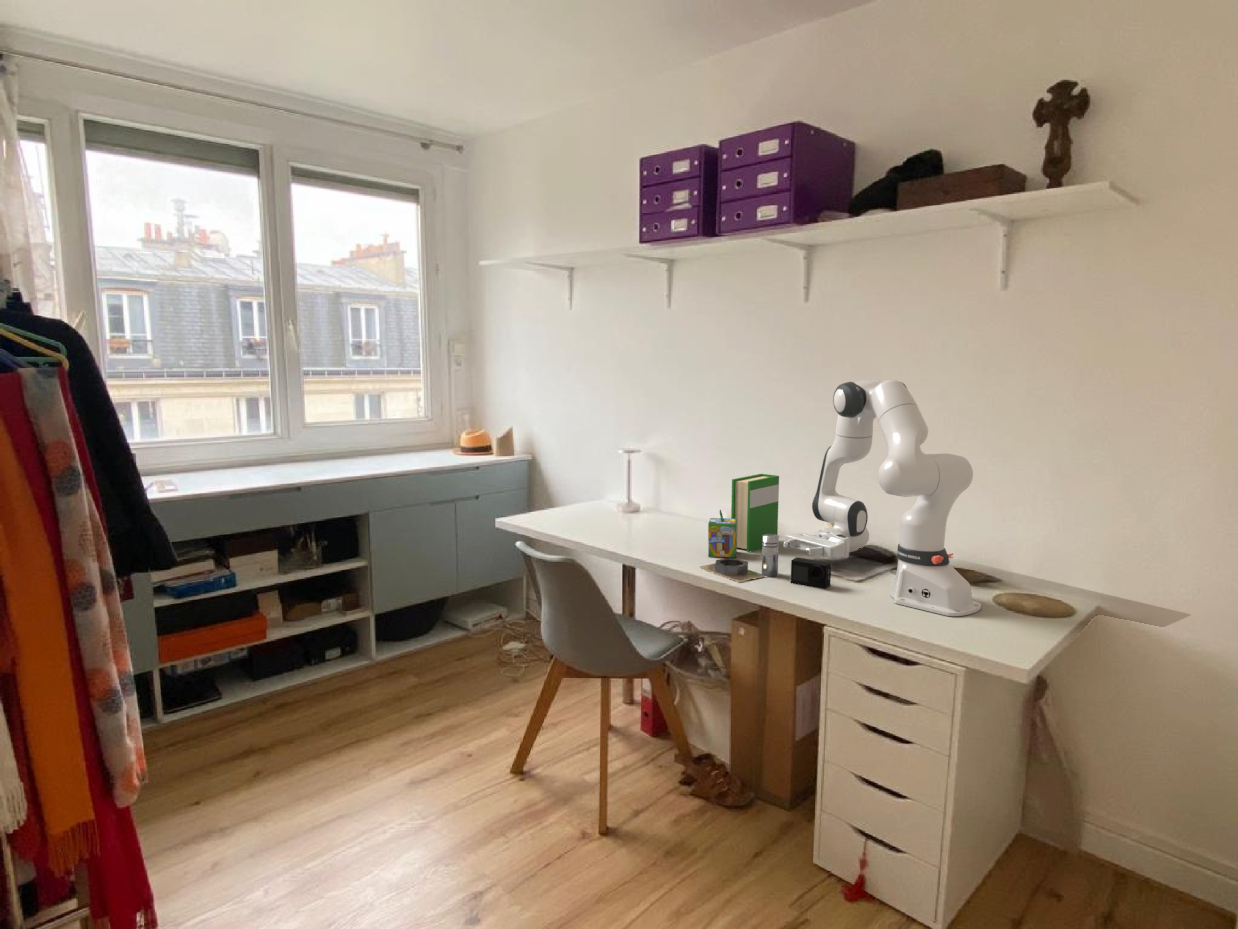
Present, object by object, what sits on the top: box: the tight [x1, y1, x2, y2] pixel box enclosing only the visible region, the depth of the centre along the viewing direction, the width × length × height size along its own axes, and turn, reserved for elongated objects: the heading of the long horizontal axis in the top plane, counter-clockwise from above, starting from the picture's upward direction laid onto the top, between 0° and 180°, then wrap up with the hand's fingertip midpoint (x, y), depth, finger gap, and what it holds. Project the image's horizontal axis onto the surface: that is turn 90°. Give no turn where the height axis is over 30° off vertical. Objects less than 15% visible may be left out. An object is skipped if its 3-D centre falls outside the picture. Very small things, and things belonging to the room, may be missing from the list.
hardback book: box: [730, 473, 780, 553], centre depth 254 cm, size 18×7×24 cm, turn 136°
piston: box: [760, 534, 780, 578], centre depth 219 cm, size 5×5×12 cm
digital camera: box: [790, 556, 832, 590], centre depth 209 cm, size 10×5×7 cm, turn 55°
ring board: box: [699, 557, 765, 583], centre depth 222 cm, size 18×10×3 cm, turn 33°
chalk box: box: [707, 509, 738, 559], centre depth 243 cm, size 9×9×15 cm
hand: (796, 548), depth 225 cm, fingers open, 8 cm apart
